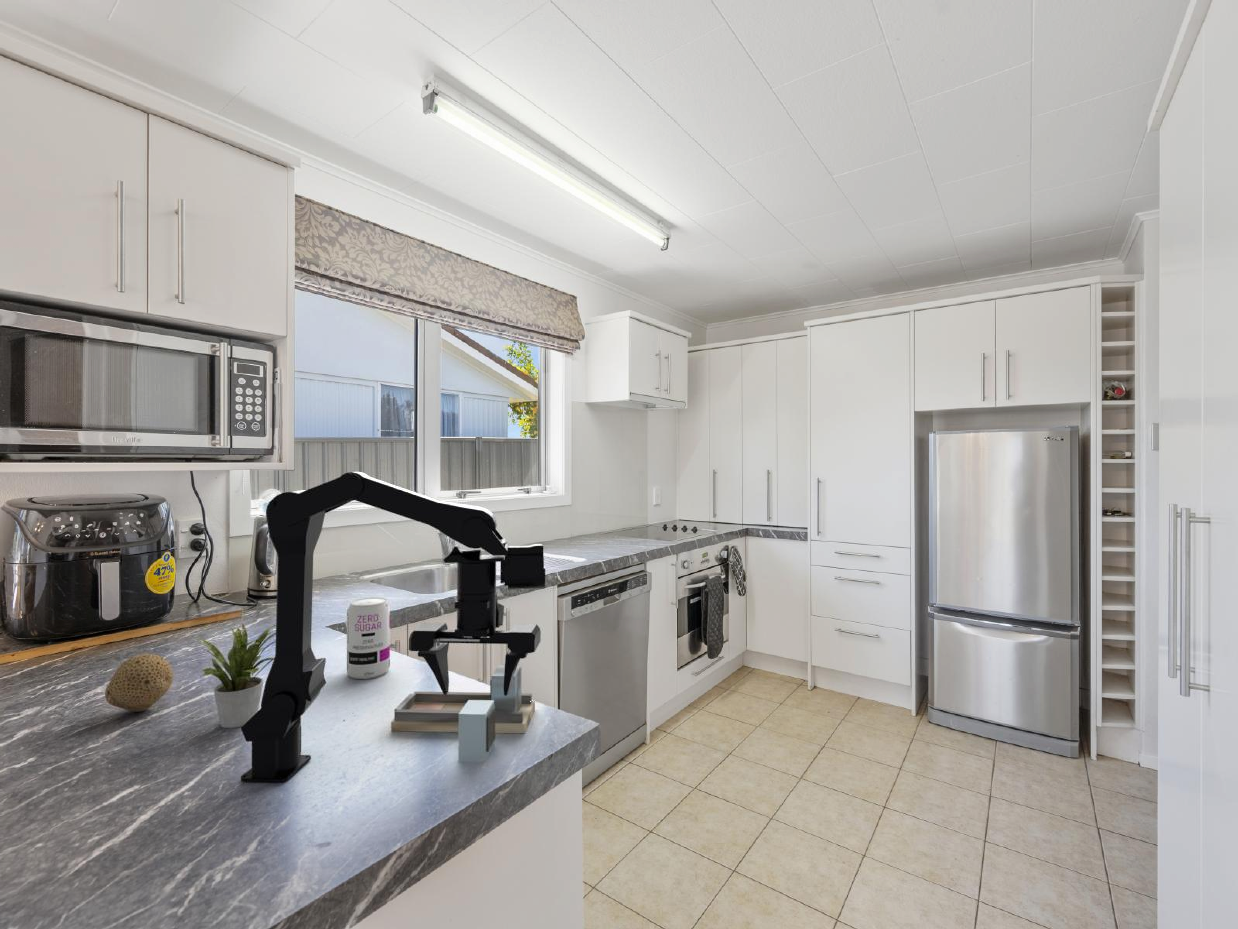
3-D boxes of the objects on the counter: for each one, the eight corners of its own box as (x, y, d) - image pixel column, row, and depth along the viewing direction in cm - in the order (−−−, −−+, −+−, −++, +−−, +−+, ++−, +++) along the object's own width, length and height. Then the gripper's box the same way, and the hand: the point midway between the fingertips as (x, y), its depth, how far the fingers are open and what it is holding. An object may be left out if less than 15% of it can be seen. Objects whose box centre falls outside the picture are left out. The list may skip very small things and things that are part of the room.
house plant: (310, 715, 99) (311, 621, 99) (222, 749, 87) (222, 642, 87) (265, 698, 107) (266, 610, 107) (178, 727, 95) (179, 629, 95)
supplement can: (377, 663, 125) (377, 595, 125) (397, 672, 120) (397, 600, 120) (339, 674, 119) (339, 601, 119) (358, 683, 114) (359, 608, 114)
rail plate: (524, 733, 93) (524, 681, 93) (391, 731, 94) (391, 679, 94) (534, 709, 102) (534, 662, 102) (412, 707, 103) (412, 660, 103)
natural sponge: (182, 709, 102) (182, 653, 102) (117, 728, 94) (117, 667, 94) (162, 697, 107) (162, 644, 107) (100, 714, 100) (100, 657, 100)
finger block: (487, 762, 84) (487, 714, 84) (458, 761, 84) (458, 714, 84) (495, 745, 89) (496, 700, 89) (468, 745, 89) (468, 700, 89)
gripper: (546, 581, 94) (546, 675, 94) (434, 579, 95) (434, 673, 95) (534, 596, 83) (533, 703, 83) (407, 594, 84) (406, 701, 84)
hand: (476, 694), depth 87 cm, fingers open, 9 cm apart
